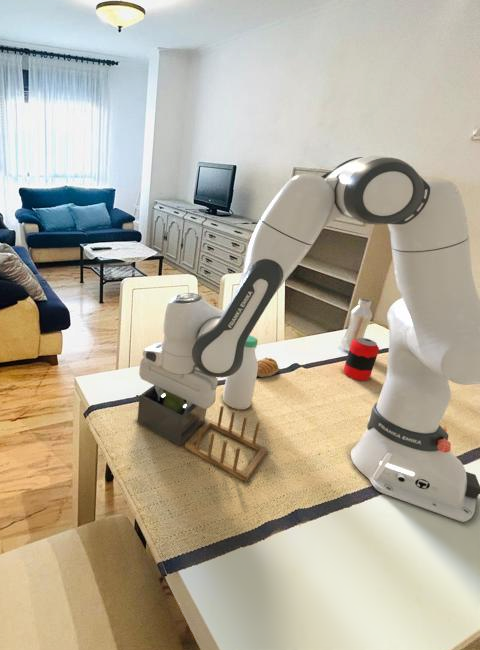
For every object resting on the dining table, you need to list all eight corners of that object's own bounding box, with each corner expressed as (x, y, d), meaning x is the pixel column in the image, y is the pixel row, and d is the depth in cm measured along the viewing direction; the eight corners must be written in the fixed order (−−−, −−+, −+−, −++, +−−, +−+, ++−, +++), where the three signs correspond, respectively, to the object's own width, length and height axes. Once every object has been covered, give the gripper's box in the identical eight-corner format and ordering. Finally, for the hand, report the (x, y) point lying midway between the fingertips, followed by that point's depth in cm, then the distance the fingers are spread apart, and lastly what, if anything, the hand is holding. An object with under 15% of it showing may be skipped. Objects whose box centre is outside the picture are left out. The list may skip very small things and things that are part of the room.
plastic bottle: (343, 344, 146) (358, 295, 139) (363, 351, 141) (379, 301, 134) (336, 349, 142) (351, 298, 135) (356, 356, 137) (372, 304, 130)
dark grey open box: (204, 420, 100) (208, 394, 97) (179, 445, 91) (183, 418, 88) (164, 400, 107) (166, 375, 104) (137, 422, 98) (139, 395, 95)
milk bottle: (252, 412, 104) (266, 346, 97) (223, 407, 105) (234, 342, 98) (249, 396, 111) (261, 333, 104) (221, 391, 112) (232, 330, 105)
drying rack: (266, 451, 90) (271, 427, 88) (245, 482, 81) (251, 456, 79) (208, 423, 99) (212, 400, 96) (184, 447, 90) (188, 423, 88)
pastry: (264, 381, 119) (267, 371, 117) (245, 372, 123) (247, 362, 122) (279, 372, 125) (282, 361, 123) (260, 363, 129) (262, 353, 128)
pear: (186, 417, 99) (190, 384, 95) (177, 428, 95) (181, 394, 91) (167, 409, 102) (170, 376, 98) (157, 419, 98) (160, 385, 94)
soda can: (371, 375, 126) (382, 342, 121) (366, 383, 121) (377, 349, 116) (346, 366, 131) (356, 334, 126) (340, 374, 125) (349, 341, 121)
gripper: (224, 369, 88) (216, 418, 93) (152, 340, 100) (148, 385, 105) (212, 380, 84) (204, 431, 89) (137, 348, 96) (134, 395, 101)
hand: (173, 406), depth 97 cm, fingers closed on pear, 5 cm apart
